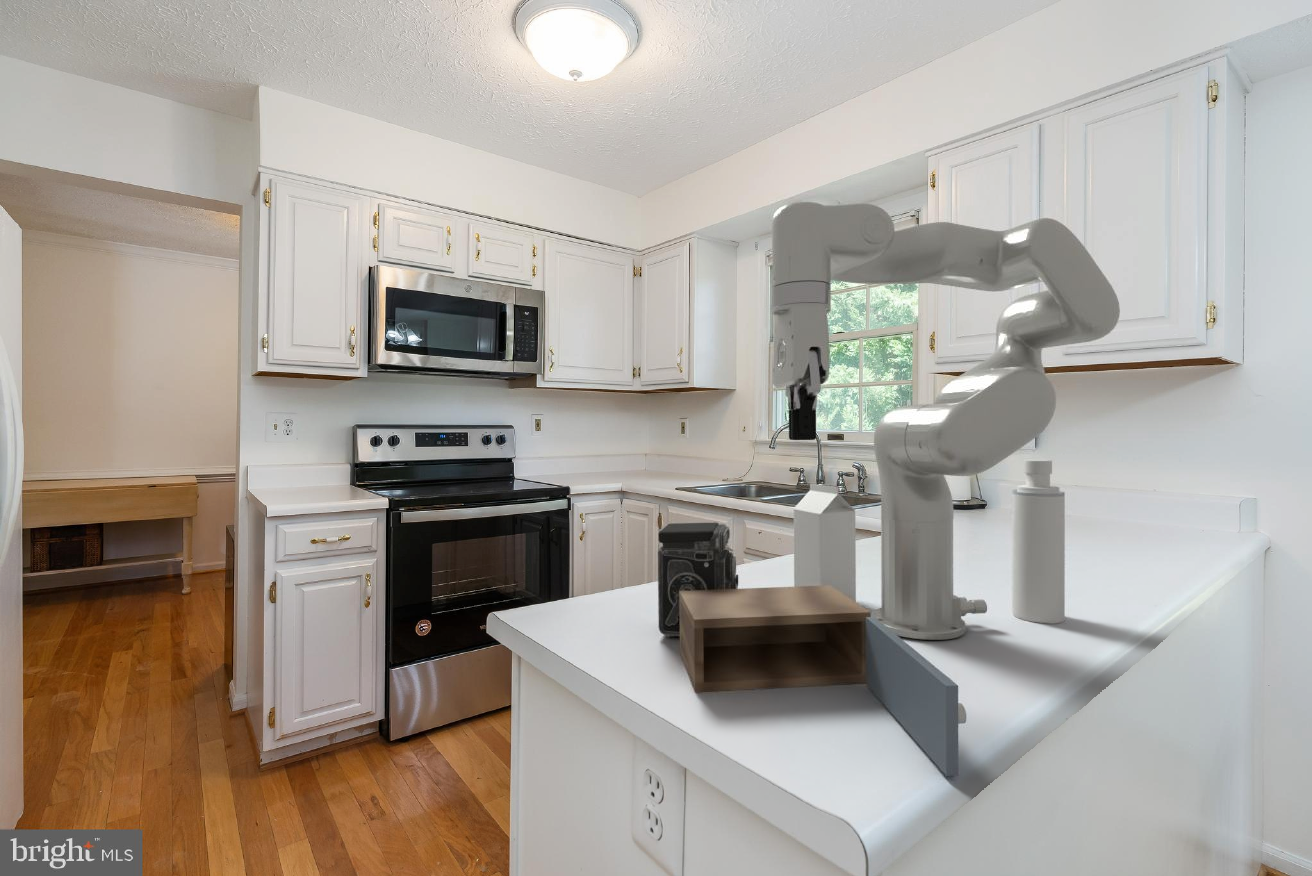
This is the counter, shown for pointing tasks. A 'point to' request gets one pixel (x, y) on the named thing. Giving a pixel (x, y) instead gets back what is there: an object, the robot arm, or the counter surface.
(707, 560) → the camera
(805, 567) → the milk carton
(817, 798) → the counter surface
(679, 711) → the counter surface
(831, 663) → the cabinet
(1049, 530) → the spray bottle
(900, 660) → the side door
